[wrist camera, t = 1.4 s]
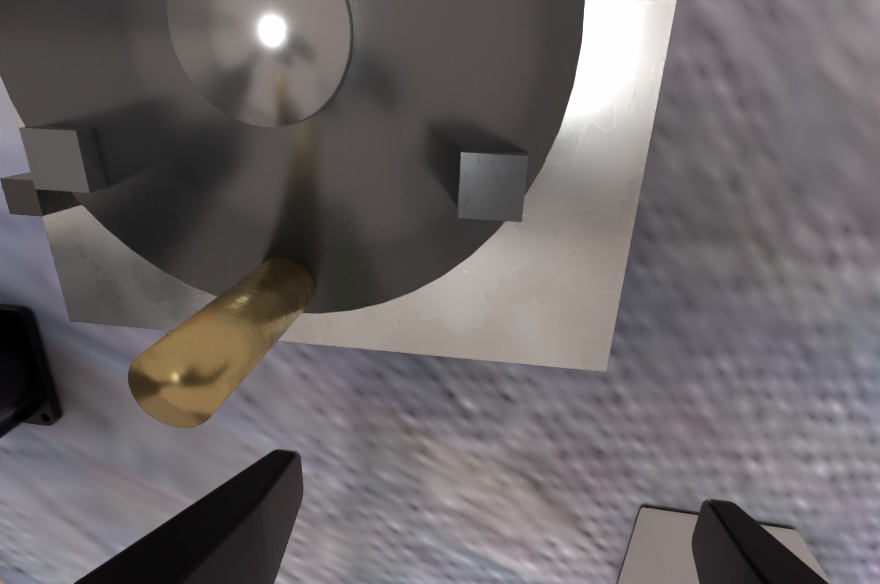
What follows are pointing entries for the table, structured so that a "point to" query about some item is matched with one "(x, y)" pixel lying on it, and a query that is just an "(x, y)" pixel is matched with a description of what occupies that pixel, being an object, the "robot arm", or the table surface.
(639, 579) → the milk carton
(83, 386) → the table surface
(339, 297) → the crank wheel
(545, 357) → the base plate
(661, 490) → the table surface
